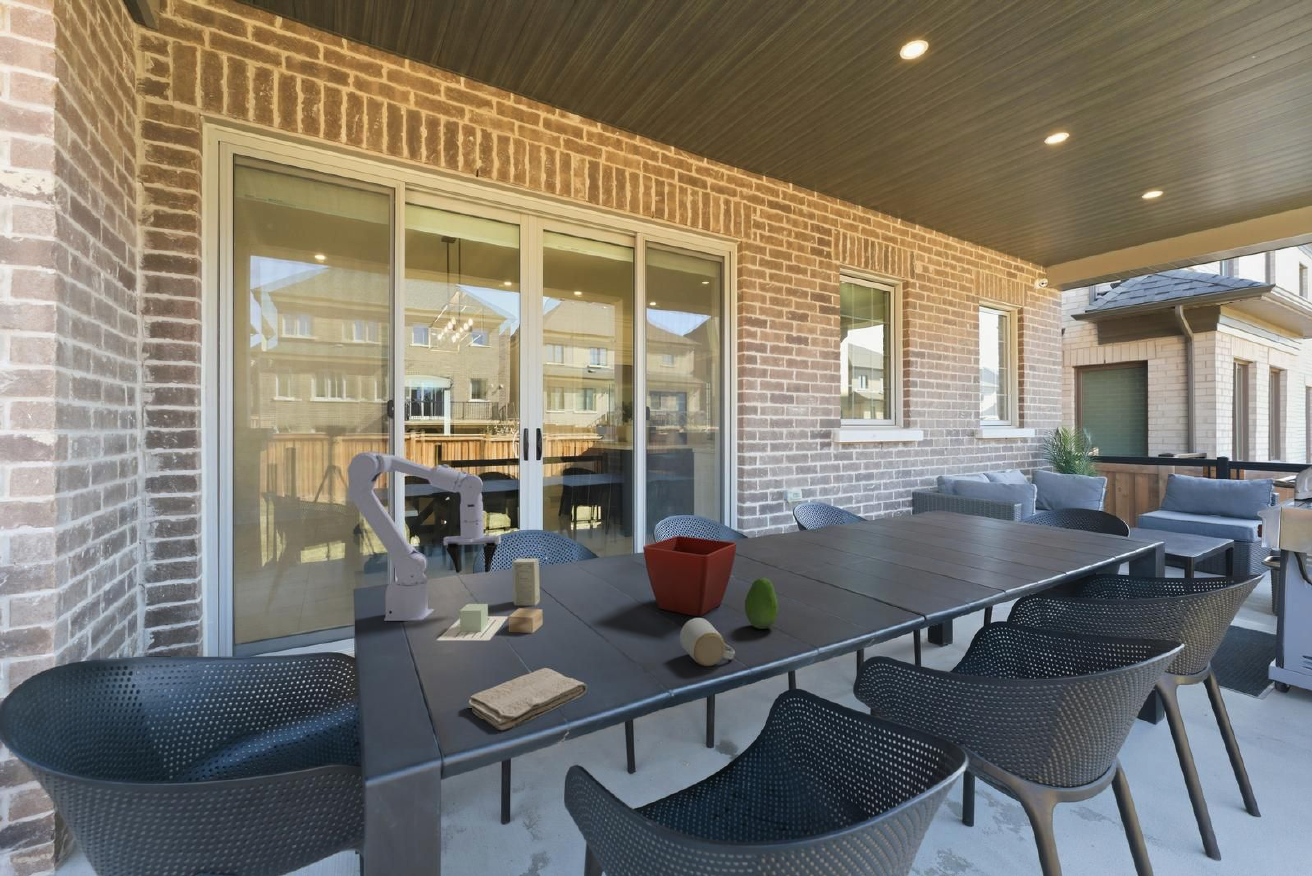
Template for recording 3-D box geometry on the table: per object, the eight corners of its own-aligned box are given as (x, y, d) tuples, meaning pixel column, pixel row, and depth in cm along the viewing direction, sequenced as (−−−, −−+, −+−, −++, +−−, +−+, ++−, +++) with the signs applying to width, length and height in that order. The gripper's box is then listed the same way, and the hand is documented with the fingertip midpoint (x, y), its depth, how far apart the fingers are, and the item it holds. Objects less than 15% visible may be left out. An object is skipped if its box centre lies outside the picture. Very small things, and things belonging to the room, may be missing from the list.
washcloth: (463, 712, 95) (463, 694, 95) (547, 676, 108) (547, 661, 108) (503, 737, 87) (503, 717, 87) (588, 695, 100) (588, 678, 100)
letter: (436, 641, 125) (436, 640, 125) (461, 617, 141) (461, 616, 141) (489, 641, 125) (489, 640, 125) (508, 617, 141) (508, 616, 141)
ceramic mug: (694, 671, 109) (694, 632, 109) (679, 655, 117) (679, 618, 117) (742, 664, 113) (742, 626, 113) (724, 649, 120) (725, 614, 120)
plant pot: (738, 603, 152) (738, 542, 152) (706, 624, 136) (706, 555, 136) (678, 592, 162) (677, 535, 162) (641, 610, 146) (641, 547, 146)
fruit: (784, 627, 133) (784, 577, 133) (766, 636, 127) (766, 584, 127) (756, 619, 138) (756, 572, 138) (738, 628, 133) (738, 578, 132)
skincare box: (540, 601, 154) (539, 558, 154) (535, 606, 150) (534, 561, 149) (518, 601, 155) (518, 557, 155) (512, 606, 150) (512, 561, 150)
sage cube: (460, 631, 130) (459, 610, 130) (467, 624, 135) (467, 604, 135) (481, 631, 130) (481, 610, 130) (487, 624, 135) (487, 604, 135)
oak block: (508, 633, 131) (508, 616, 131) (519, 624, 137) (519, 608, 137) (532, 634, 130) (532, 617, 130) (542, 625, 136) (542, 609, 135)
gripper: (438, 523, 142) (439, 576, 142) (494, 522, 142) (496, 575, 142) (448, 518, 149) (450, 569, 149) (502, 517, 149) (503, 568, 149)
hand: (473, 571), depth 146 cm, fingers open, 7 cm apart
